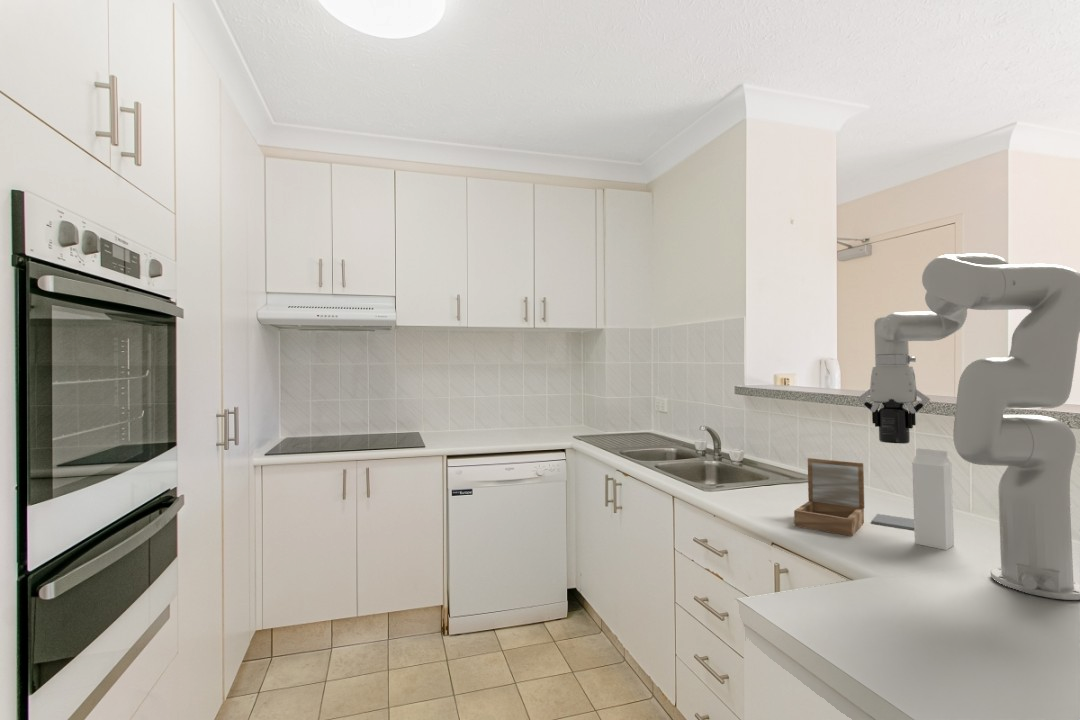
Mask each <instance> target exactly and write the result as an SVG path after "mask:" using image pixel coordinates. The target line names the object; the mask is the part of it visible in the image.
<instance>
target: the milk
mask: <svg viewBox="0 0 1080 720" xmlns="http://www.w3.org/2000/svg"><path fill="white" fill-rule="evenodd" d="M915 453H916V454H915V457H914V459H913V461H912V463H911V464H912V466H911V467H912V495H913V519H914V530H913V531H914V533H913V534H914V544H916V545H921V546H924V547H929V548H934V549H940V550H943V551H947V550H949V549H950V548H952V547H954V546H955V535H954V533H955V532H954V531H955V529H954V507H953V506H954V505H953V503H954V501H953V498H954V497H953V481H952V480H953V477H952V476H953V475H952V471H953V469H952V462H951V461H950V459H949V458H948V451H946V450H941V449H940V450H939V449H929V448H916V449H915Z"/></svg>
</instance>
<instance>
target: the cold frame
mask: <svg viewBox="0 0 1080 720" xmlns="http://www.w3.org/2000/svg"><path fill="white" fill-rule="evenodd" d="M864 480H865V479H864V463H863V462H853V461H845V460H833V459H825V458H824V459H822V458H811V457H808V458H807V487H808V488H807V489H808V498H807V499H808V501H807V502H805V503H803V504H802V505H800V506H799V507H797V508H796V509H795V510H794V511H793V513H794V517H793V519H794V520H793V521H794V527H798V528H802V529H803V528H804V529H808V530H809V529H810V530H814V531H821V532H826V533H831V534H837V535H842V536H843V535H844V536H847V537H853V536H854V535H855V534H856V533H857V531H858V530H859V529H861V528H862V526H863V525H864V524H863V523H865V511H864V509H865V483H864V482H865V481H864Z"/></svg>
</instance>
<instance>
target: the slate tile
mask: <svg viewBox="0 0 1080 720" xmlns="http://www.w3.org/2000/svg"><path fill="white" fill-rule="evenodd" d="M870 521H871V522H870V523H871V524H873V523H874V524H875V525H879V524H880V525H879V526H885V525H887V526H888V527H891V528H892V527H893V528H898V529H899V528H900V529H904V530H905V529H906V530H911V531H912V530H913V531H914V518H908V517H901V516H896V515H895V516H894V515H887V514H881V513H876V515H875V516H874V517H873V519H872V520H870ZM887 526H886V527H887Z"/></svg>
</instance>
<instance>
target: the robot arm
mask: <svg viewBox="0 0 1080 720" xmlns="http://www.w3.org/2000/svg"><path fill="white" fill-rule="evenodd" d="M921 283H922V285H923V288H924V290H926V292H925V297H924V300H925V303H926V306H927V308H928V309H929V310H930V311H904V312H903V311H901V312H900V311H898V312H892V313H890V314H888V315H886V316H882V317H878V318H877V319H875V321H874V324H873V325H874V326H873V327H874V328H873V329H874V356H875V357H874V361H875V362H874V363H875V364H874V365H875V366H873V367H872V369H871V375H870V388H869V389H868V390H867V391H865V392H864V393H862V394H860V396H859V397H858V398H857V399H858V400H859V401H860V402H861V403H862V404H863V405H864V406H865V407H866V408H867V409H868V410H869V411H871V412H872V413H871V414H872V415H871V418H872V419H871V420H872V424H874V427H875V428H876V427H878V428H879V417H878V411H879V409H880V407H881V405H882V403H886V402H887V401H888V402H889V399H890V400H891V399H892V400H893V399H894V401H896V402H898V403H904V405H905V406H906V408H907V410H908V412H909V414H908V428H909V429H910V430H912V429H913V428H914V426H916V424H917V423H916V420H917V419H916V413H917V412H919V411H920V410H921V409H923V407H925V406H927V404H928V403H929V402H930V401H931V398H930V397H928V396H927V395H925V394H924V393H922V392H921V391H919V390H918V389H917V385H916V384H917V381H916V374H915V369H914V367H913V366H910V364H911V363H916V356H911V355H909V351H910V350H909V342H934V341H941V340H943V339H945V338H947V337H950V336H952V335H953V334H954V333H956V332H958V331H959V330H961V328H962V327H963V325H964V324H965V322H966V319H967V317H968V309H969V310H975V311H976V310H977V311H989V310H990V311H994V310H995V311H998V310H999V311H1000V310H1002V311H1003V310H1012V311H1013V310H1029V311H1030V312H1029V313H1028V314H1027V315H1026V316H1025V317H1023V319H1022V320H1021V321H1020V322H1019V324H1018V325H1017V326H1016V328H1015V329H1014V331H1013V334H1012V337H1011V346H1010V351H1009V355H1008V356H1007V357H986V358H979V359H976V360H975V361H972V362H971V363H969V364H968V365H967V366H966V367H965V368H964V370H963V371H962V373H961V375H960V378H959V381H958V386H957V387H958V388H957V392H956V403H955V412H954V413H955V414H954V421H953V433H952V434H953V435H952V437H953V445H954V448H955V450H956V452H957V454H958V455H959V456H960V457H961V459H963V460H964V461H965V462H968V463H969V464H973V465H977V466H978V465H979V466H996V467H997V466H999V467H1000V466H1005V467H1006V466H1007V467H1006V469H1005V471H1004V472H1003V474H1002V476H1001V477H1000V481H999V482H998V490H997V491H998V522H999V544H1000V547H999V548H1000V567H996V568H993V569H991V570H990V577H992V578H993V579H995V580H996V581H998V582H1000V583H1001V584H1003V585H1002V586H1004V585H1006V586H1008V587H1007V588H1009V587H1010V588H1009V589H1011V588H1013V589H1012V590H1014V589H1016V590H1015V591H1017V590H1019V591H1018V592H1021V591H1022V592H1021V593H1024V592H1025V594H1029V595H1033V596H1038V597H1042V598H1048V599H1054V600H1063V601H1079V600H1080V583H1078V582H1076V581H1074V564H1073V544H1072V543H1073V541H1072V539H1073V538H1072V518H1071V517H1072V516H1071V515H1072V513H1071V474H1072V468H1073V464H1074V459H1075V455H1076V449H1077V442H1076V441H1077V440H1076V435H1075V433H1074V432H1073V430H1072V429H1071V428H1070V426H1068V425H1067V424H1066V423H1064V422H1063V421H1061V420H1059V419H1057V418H1054V417H1051V416H1048V415H1047V416H1046V415H1039V414H1005V411H1006V410H1046V409H1055V408H1058V407H1060V406H1062V405H1064V404H1065V403H1066V402H1067V401H1068V399H1069V398H1070V395H1071V392H1072V391H1071V390H1072V386H1073V381H1074V373H1075V367H1076V359H1077V352H1078V342H1079V337H1080V272H1079V271H1077V270H1075V269H1073V268H1072V267H1071V268H1070V267H1068V266H1063V265H1058V264H1047V263H1035V264H1034V263H1033V264H1032V263H1030V264H1029V263H1028V264H1027V263H1024V264H1023V263H1021V264H1018V263H1017V264H1009V262H1008V261H1006V260H1005V259H1004V258H1003V257H1001V256H999V255H994V254H988V253H964V254H960V253H958V254H944V255H940V256H937V257H936V258H933V259H932V260H931V261H930V262H928V263H927V265H926V266H925V268H924V270H923V272H922V275H921ZM868 397H870V400H871V402H874V403H873V404H872V403H871V402H869V401H868V400H867V398H868ZM917 397H918V398H919V399H920V401H919V403H917V404H916V405H915V406H914V403H915V402H917V400H918V399H917ZM992 578H991V579H992ZM993 579H992V580H993ZM996 581H995V582H996ZM1001 584H1000V585H1001ZM1006 586H1005V587H1006Z"/></svg>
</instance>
